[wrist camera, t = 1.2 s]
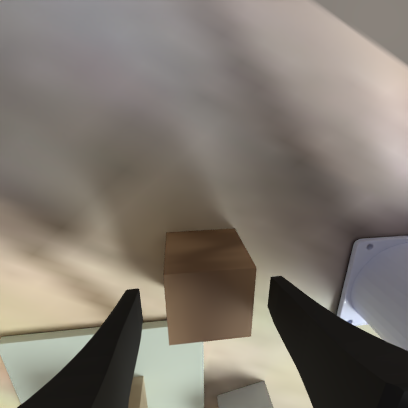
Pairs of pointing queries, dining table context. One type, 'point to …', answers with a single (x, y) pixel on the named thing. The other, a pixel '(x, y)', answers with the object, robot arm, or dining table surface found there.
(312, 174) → the dining table surface
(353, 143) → the dining table surface
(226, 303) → the walnut block
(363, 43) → the dining table surface
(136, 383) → the maple block
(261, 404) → the grey block
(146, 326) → the station board
